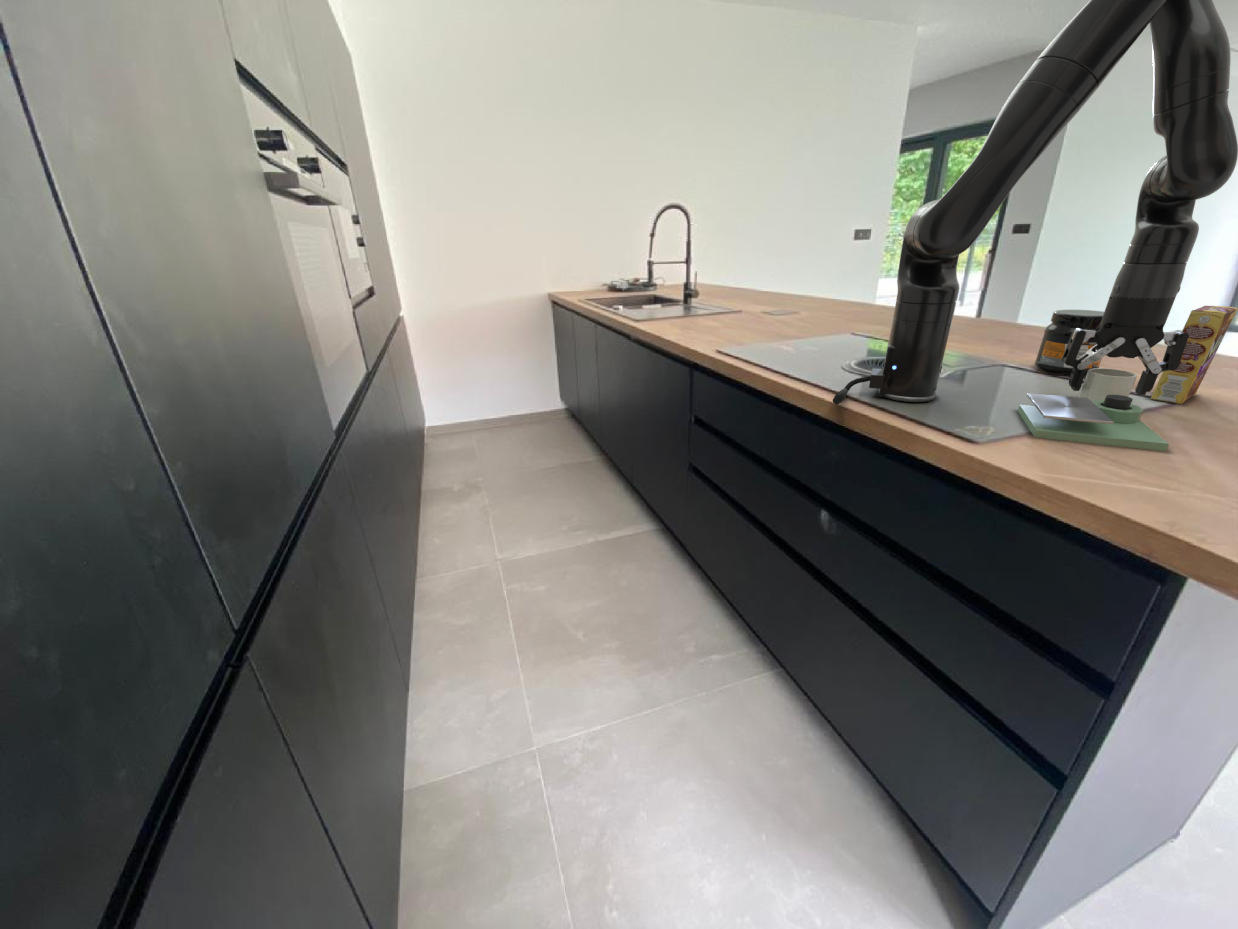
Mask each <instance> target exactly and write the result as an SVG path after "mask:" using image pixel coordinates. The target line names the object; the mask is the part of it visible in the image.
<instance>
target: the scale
mask: <svg viewBox="0 0 1238 929" xmlns="http://www.w3.org/2000/svg"><path fill="white" fill-rule="evenodd" d="M1092 402H1093V403H1094V404H1095V405H1096V406H1097V407H1098V408H1099V409H1100V410H1101V411H1103V412H1104V413H1105V414H1106V415H1107V416H1108V417H1109V418H1110V419H1111V420H1112V421H1113V422H1114V423H1113V424H1104V423H1093V422H1083V421H1072V420H1062V419H1051V418H1044V417H1043V416H1042V415H1041V413H1040V412H1039V411H1038V409H1037V408H1036V407H1035V405H1029V404H1019V406H1018V409H1017V413H1018V414H1019V416H1020V417H1021V418H1022V420H1023V422H1024V424H1025V425H1026V426H1027V428H1028V429H1029V431H1030V434H1032V436H1033V437H1034V438H1039V439H1049V440H1056V441H1057V440H1058V441H1067V442H1075V443H1085V444H1094V445H1103V446H1112V447H1122V448H1130V449H1131V448H1132V449H1140V450H1150V451H1157V452H1159V451H1160V452H1167V450H1168V448H1169V446H1170V443H1169V442H1168V441H1166V440H1165V439H1164V438H1162V437H1161V435H1159V434H1158V433H1157V432H1155V431H1154V430H1153V429H1152V428H1150V427H1149V426H1148V425H1147V424H1146V423H1144V422H1143V421H1142V420H1141V416H1142V415H1143V413H1144V409H1143V408H1142V407H1140V406H1139V405H1135V404H1132V403H1131V405H1130V408H1129V410H1120V409H1113V408H1107V407H1104V406H1103V403H1104V400H1098V401H1092Z"/></svg>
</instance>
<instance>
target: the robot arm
mask: <svg viewBox="0 0 1238 929" xmlns="http://www.w3.org/2000/svg"><path fill="white" fill-rule="evenodd" d="M1148 26H1149V30H1150V39H1151V48H1152V50H1151V51H1152V63H1153V64H1152V66H1153V92H1152V96H1153V97H1152V98H1153V99H1152V115H1153V116H1152V126H1153V131H1154V133H1155V134H1156V135H1158V136H1160V137H1162V138H1163V139H1164V144H1165V145H1164V146H1165V154H1166V155H1164V156H1163V157H1161V158H1160V159H1159V160H1157V161H1156V162H1155V163H1154V165H1152V167H1150V169H1149V171H1148V172H1147V173H1146V175H1145V177H1144V178H1143V181H1142V183H1141V187H1140V189H1139V194H1138V199H1137V206H1136V213H1135V223H1134V226H1135V227H1134V234H1133V236H1132V239H1131V240H1130V243H1129V246H1128V248H1127V252H1126V255H1125V257H1124V261H1123V263H1122V265H1121V268H1120V269H1119V271H1118V273H1117V275H1116V277H1115V280H1114V282H1113V285H1112V289H1111V292H1110V294H1109V297H1108V300H1107V303H1106V305H1105V309H1104V311H1103V312H1104V315H1103V317H1102V320H1101V324H1100V326H1099V327H1098V328H1097V329H1096V330H1095V331H1092V330H1082V329H1080V328H1076V329H1074V330H1073V332H1072V334H1071V337H1070V339H1069V342H1068V344H1067V347H1066V349H1065V352H1064V354H1063V357H1062V362H1064V363H1065V364H1066V365H1068V366H1072V367H1073V370H1072V373H1071V376H1069V379H1068V387H1070V388H1071V390H1072V391H1073V392H1080V391H1081V389H1082V386H1083V383H1084V380H1085V378H1086V376H1085V374H1086V370H1085V368H1086V367H1088V366H1089V365H1091V364H1092V363H1093V362H1095V361H1098V360H1100V359H1101V358H1102V359H1103V358H1105V356H1106V357H1108V358H1114V359H1115V358H1126V359H1135V358H1138V359H1139V361H1140V362H1141V363H1142V365H1143V366H1144V368H1145V370H1142V372H1141V375H1140V377H1139V380H1138V382H1137V385H1136V387H1135V394H1137V395H1138V396H1145V395H1146V394H1147V393H1150V392H1151V391H1152V390H1153V389H1154V386H1155V384H1156V382H1157V379H1158V376H1159V375H1160V374H1162V373H1163V371H1168V370H1172V371H1173V370H1176V369H1177V368H1178V367H1179V364H1180V361H1181V358H1182V355H1183V352H1184V349H1185V346H1186V343H1187V340H1188V337H1189V335H1188V334H1187V333H1184V332H1182V330H1179V329H1178V330H1174V331H1170V332H1169V331H1164V327H1165V326H1166V324H1167V320H1168V318H1169V315H1170V313H1171V310H1172V308H1173V306H1174V303H1175V300H1176V298H1177V295H1178V294H1179V292H1180V290H1181V285H1182V282H1183V280H1184V276H1185V271H1186V267H1187V264H1188V261H1189V259H1190V258H1191V257H1190V256H1191V254H1192V251H1193V249H1194V246H1195V244H1196V241H1197V239H1198V236H1199V230H1200V224H1199V223H1198V222H1197V221H1196V220H1194V219H1193V214H1194V211H1195V205H1196V202H1197V201H1198V200H1200V199H1204V198H1206V197H1208V196H1211V195H1212V194H1214V193H1216V192H1218V191H1219V190H1221V188H1222V187H1224V186H1225V184H1227V183H1228V181H1229V180H1230V178H1231V177H1232V175H1233V173H1234V171H1235V168H1236V167H1237V163H1238V138H1237V134H1236V129H1235V125H1234V121H1233V120H1234V119H1233V117H1232V114H1231V111H1230V108H1229V104H1228V103H1229V102H1228V101H1229V93H1230V90H1229V89H1230V77H1231V58H1232V57H1231V44H1230V40H1229V35H1228V33H1227V30H1226V27H1225V25H1224V23H1223V20H1222V19H1221V17H1220V14H1219V13H1218V11H1217V8H1216V5H1215V3H1214V0H1089V1H1088V2H1087V3H1085V5H1084V6H1083V7H1082V8H1081V9H1080V10H1079V11H1078V12H1077V13H1076V14H1075V15H1074V16H1073V17H1072V18H1071V19H1070V21H1068V22H1067V24H1066V25H1065V26H1064V27H1063V28H1062V29H1061V30H1060V31H1059V32H1058V33H1057V35H1056V36H1055V37H1054V38H1053V39H1052V41H1051V42H1050V43H1049V44H1048V45H1047V46H1046V47H1045V48H1044V49H1043V51H1042V52H1041V53H1040V54H1039V55H1038V57H1037V58H1036V59H1035V61H1033V63H1032V65H1031V66H1030V67H1029V69H1028V70H1027V72H1025V74H1024V75H1023V76H1022V78H1021V79H1020V80H1019V82H1018V83H1017V85H1016V86H1015V87H1014V88H1013V90H1012V91H1011V93H1010V94H1009V95H1008V97H1007V98H1006V101H1005V102H1004V103H1003V105H1002V107H1001V109H1000V110H999V112H998V114H997V116H996V118H995V120H994V122H993V124H992V126H991V128H990V130H989V133H988V135H987V137H986V138H985V141H984V143H983V145H982V146H981V148H980V150H979V151H978V153H977V155H976V156H975V158H974V159H973V160H972V162H970V165H968V167H967V168H966V170H965V171H964V172H963V173H962V174H960V177H959V178H958V179H957V180H956V181H955V182H954V184H953V185H951V187H949V189H948V190H947V191H946V192H945V194H943V195H942V197H941V198H939V199H934V200H932V201H931V200H930V201H928V202H926V203H925V204H923V205H921V206H920V207H919V208H918V209H916V210H915V211H914V213H912V215H911V216H910V218H909V219H908V222H907V224H906V227H905V230H904V234H903V239H902V244H901V252H900V257H899V263H898V269H897V279H896V284H897V294H896V300H895V306H894V310H893V316H892V322H891V327H890V333H889V337H888V342H887V345H886V352H885V355H884V356H885V357H884V363H883V368H876V367H875V368H874V367H873V368H872V369H871V374H870V375H866V376H862V377H861V376H860V377H858V378H855V379H853V380H850V381H849V382H847V384H846V385H845V386H844V388H841V390H838V392H837V393H836V394H834V397H833V398H832V403H833V404H834V405H839V404H841V403H842V402H843V401H844V400H845V399H846V397H847V395H848V394H849V391H850V390H851V389H852V387H854V386H856V385H858V384H861V383H866V382H869V385H868V389H877V390H878V398H885V399H889V400H892V401H899V402H906V403H926V402H931V401H933V400H934V399H935V398H936V395H937V394H936V391H937V389H938V383H939V378H940V374H941V373H942V370H943V362H944V358H945V352H946V349H947V345H948V340H949V336H950V332H951V327H952V324H953V320H954V315H955V311H956V307H957V303H958V302H957V301H958V298H959V293H960V283H959V281H958V275H957V272H958V271H957V270H958V269H957V268H958V263H959V259H960V255H961V254H963V253H964V252H966V251H967V250H968V249H969V248H970V247H971V246H972V245H974V243H975V242H976V241H977V240H978V238H979V237H980V236H981V234H982V233H983V231H984V230H985V228H986V227H987V226H988V224H989V223H990V221H991V220H992V218H993V217H994V216H995V214H996V213H997V211H998V210H999V208H1000V207H1001V205H1002V204H1003V202H1004V201H1005V200H1006V199H1007V197H1008V195H1009V194H1010V193H1011V191H1012V190H1013V189H1014V188H1015V186H1016V185H1017V184H1018V182H1019V181H1020V180H1021V178H1022V177H1023V176H1024V175H1025V174H1026V173H1027V172H1028V171H1029V169H1030V168H1031V167H1032V166H1033V165H1034V164H1035V163H1036V162H1037V160H1039V158H1040V157H1041V156H1042V155H1043V154H1044V152H1045V151H1046V150H1047V149H1048V148H1049V146H1050V145H1051V144H1052V143H1053V142H1054V141H1055V139H1056V138H1057V137H1058V136H1059V135H1060V134H1061V132H1062V131H1063V130H1064V129H1065V127H1066V126H1067V125H1069V123H1070V122H1071V121H1072V120H1073V119H1074V118H1075V117H1076V115H1077V114H1078V113H1079V112H1080V110H1082V109H1083V107H1084V106H1085V105H1086V103H1087V102H1088V101H1089V100H1090V99H1091V98H1092V96H1093V95H1094V94H1095V93H1096V91H1097V90H1098V89H1099V88H1100V86H1101V85H1102V84H1103V82H1104V81H1105V80H1106V79H1107V77H1108V76H1109V75H1110V73H1111V72H1112V71H1113V70H1114V69H1115V67H1116V66H1117V65H1118V64H1119V63H1120V61H1121V60H1122V59H1123V57H1124V56H1125V55H1126V54H1127V52H1128V51H1130V48H1131V47H1132V46H1133V45H1134V44H1135V42H1136V41H1137V40H1138V38H1139V37H1140V36H1141V34H1142V33H1143V32H1144V31H1145V29H1147V27H1148ZM1091 337H1093V338H1094V340H1095V342H1096V345H1095V346H1093V347H1092V348H1091V349H1089V350H1088V351H1087V352H1086V353H1085V354H1084V355H1083V356H1081V357H1080V358H1078V359H1076V357H1077V355H1078V352H1079V350H1080V347H1081V345H1082V343H1085V342H1087V341H1088V339H1089V338H1091ZM1162 341H1163V342H1164V345H1166V346H1167V347H1166V349H1165V351H1164V352H1165V353H1164V356H1163V358H1162V361H1158V359H1157V356H1156V355H1155V354H1154V351H1153V350H1152V348H1153V347H1154V346H1156V345H1158V344H1160V342H1162Z"/></svg>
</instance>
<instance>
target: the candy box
mask: <svg viewBox="0 0 1238 929" xmlns="http://www.w3.org/2000/svg"><path fill="white" fill-rule="evenodd" d="M1237 311H1238V307H1236V306H1235V307H1234V306H1225V305H1203V306H1201V307H1199V308H1196V309H1192V310H1190V313H1189V316H1188V317H1187V320H1186V322H1185V324H1184V326H1183V329H1182V330H1181V331H1182V332H1184V333H1187V334H1188V335H1189V337H1188V340H1187V343H1186V346H1185V349H1184V352H1183V355H1182V358H1181V361H1180V364H1179V367H1178V368H1177V369H1176V370H1173V371H1172V370H1168V371H1163V372H1161V375H1160V378H1159V379H1158V382H1157V384H1156V385H1155V386H1156V387H1155V388H1154V391H1153V392H1152V395H1151V397H1150V399H1151V400H1154V401H1160V402H1164V403H1171V404H1176V405H1182V404H1183V403H1185V402H1186V401H1188V400H1189V399H1191V398H1193V397H1194V396H1195V395H1196V394H1197V392H1198V390H1199V388H1200V386H1201V384H1202V382H1203V380H1204V378H1205V376H1206V374H1207V371H1208V370H1209V368H1210V366H1211V364H1212V362H1213V360H1214V358H1215V357H1216V354H1217V352H1218V350H1219V348H1220V346H1221V344H1222V342H1223V340H1224V337H1225V335H1226V334H1227V331H1228V329H1229V327H1230V326H1231V324H1232V322H1233V319H1234V317H1235V315H1236V313H1237Z"/></svg>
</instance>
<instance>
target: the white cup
mask: <svg viewBox="0 0 1238 929" xmlns="http://www.w3.org/2000/svg"><path fill="white" fill-rule="evenodd" d="M1137 377H1138V374H1137V373H1136V372H1132V371H1129V370H1125V369H1124V370H1123V369H1117V368H1105V367H1099V368H1093V369H1089V370H1088V372H1087V375H1086V376H1085V377H1084V380H1083V383H1082V385H1081V388H1080V390H1079V394H1078V397H1082V398H1088V399H1089V400H1091V401H1098V400H1105V398H1106V396H1107V395H1122V396H1127V397H1130V395H1131V392H1132V390H1133V387H1134V385H1135V382H1136V380H1137Z"/></svg>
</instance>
